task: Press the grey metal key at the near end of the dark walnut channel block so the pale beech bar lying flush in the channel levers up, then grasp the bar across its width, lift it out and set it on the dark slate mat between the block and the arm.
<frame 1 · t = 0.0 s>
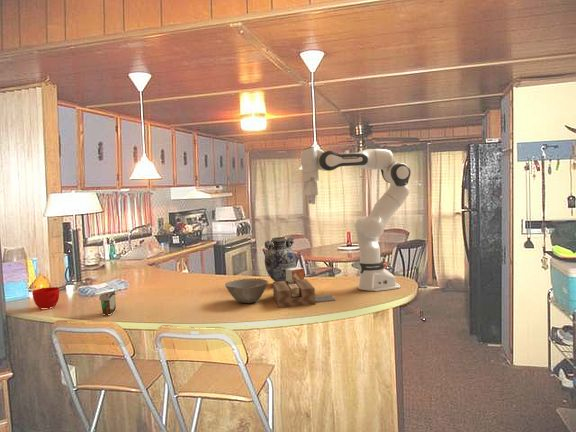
hand: (311, 203, 264), 48 cm above the table, tool pointing down, fingers open, 8 cm apart
eject lever: (293, 289, 252), point 6 cm above the table, hinge at 0.0°, touching beech bar
ceramic bowl: (247, 302, 256), on the table
beech bar: (294, 293, 249), point 4 cm above the table, touching eject lever
small box: (295, 292, 272), on the table
slate mat: (323, 299, 252), on the table
food container: (107, 314, 247), on the table
walnut channel block: (293, 300, 253), on the table
ceramic cup: (49, 308, 266), on the table
decorative vase: (281, 284, 294), on the table
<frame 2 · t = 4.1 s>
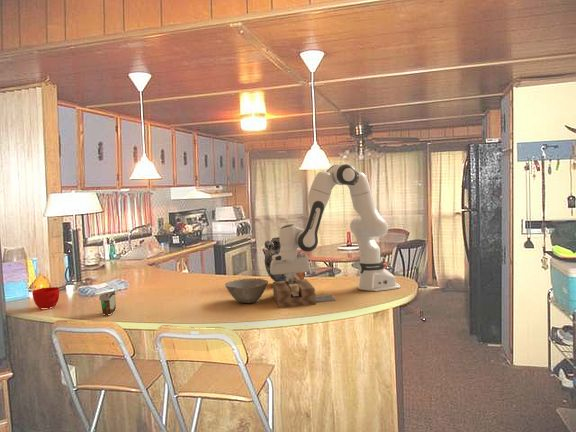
hand: (290, 281, 260), 8 cm above the table, tool pointing down, fingers closed, pressing on eject lever
eject lever: (292, 288, 253), point 6 cm above the table, hinge at 5.7°, touching beech bar, gripper
beech bar: (293, 292, 250), point 5 cm above the table, tilted 6°, touching eject lever
everything else where it was.
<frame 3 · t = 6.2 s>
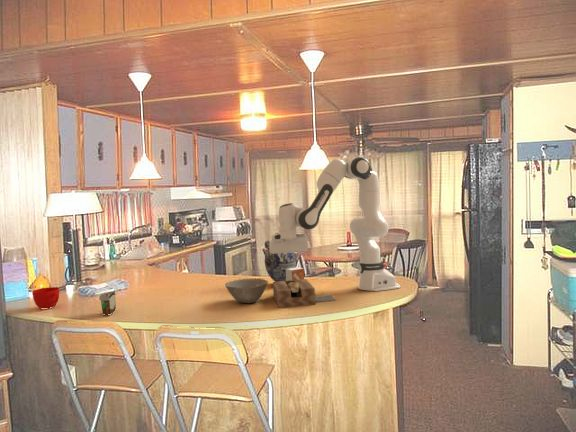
hand: (289, 261, 259), 19 cm above the table, tool pointing down, fingers open, 7 cm apart
eject lever: (292, 287, 253), point 6 cm above the table, hinge at 15.0°, touching beech bar
beech bar: (293, 290, 250), point 6 cm above the table, tilted 15°, touching eject lever
everything else where it was.
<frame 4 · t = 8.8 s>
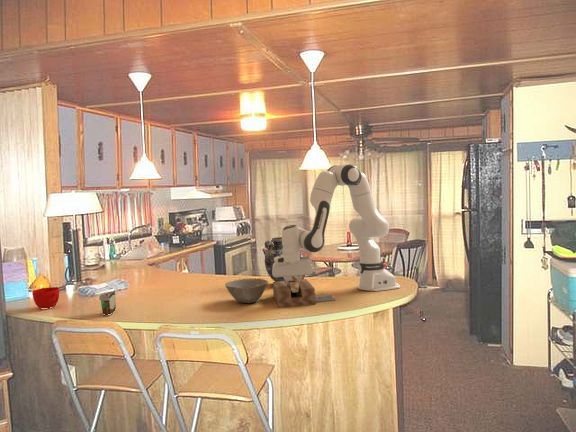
hand: (293, 284, 251), 8 cm above the table, tool pointing down, fingers closed on beech bar, 4 cm apart
beech bar: (293, 290, 250), point 6 cm above the table, tilted 15°, touching eject lever, gripper
everything else where it was.
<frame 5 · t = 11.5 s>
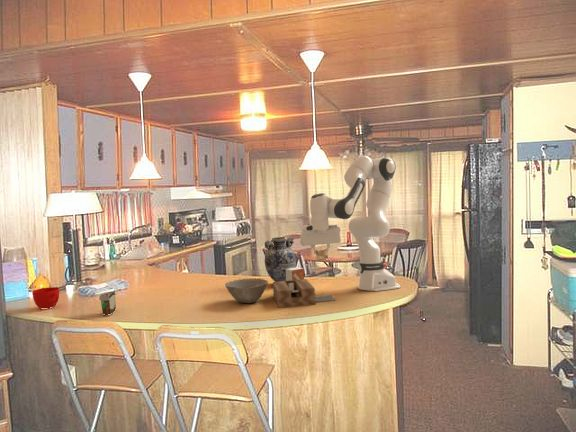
hand: (321, 253, 250), 24 cm above the table, tool pointing down, fingers closed on beech bar, 4 cm apart
eject lever: (292, 287, 253), point 6 cm above the table, hinge at 15.0°
beech bar: (322, 259, 249), point 21 cm above the table, tilted 15°, touching gripper
everything else where it was.
when the fingers open (7 cm above the table, at t = 14.3 s): beech bar drops 3 cm, resting on slate mat.
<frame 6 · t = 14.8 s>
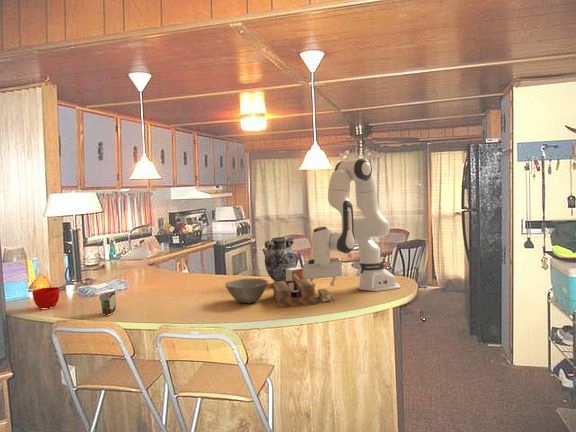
hand: (323, 286, 251), 7 cm above the table, tool pointing down, fingers open, 8 cm apart
beech bar: (324, 298, 250), point 1 cm above the table, touching slate mat
everything else where it was.
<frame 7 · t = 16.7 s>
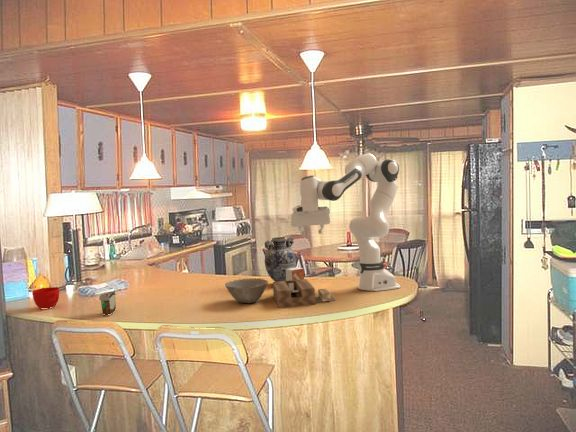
hand: (311, 234, 256), 33 cm above the table, tool pointing down, fingers open, 8 cm apart
nothing on the table moved.
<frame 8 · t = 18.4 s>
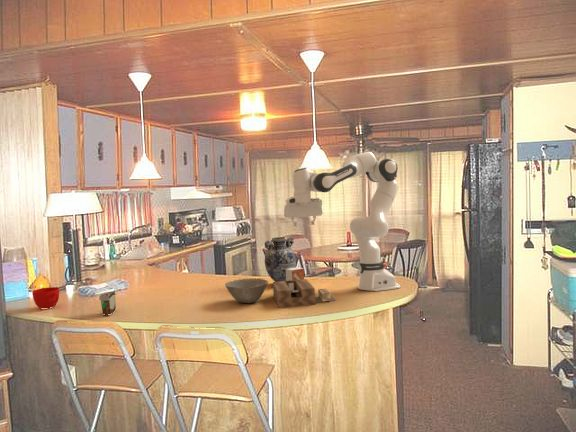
hand: (303, 225, 261), 37 cm above the table, tool pointing down, fingers open, 8 cm apart
nothing on the table moved.
at the end: beech bar inside the target area on the slate mat (1.6 cm from its centre), point 0.6 cm above the slate mat's base; the gripper is holding nothing; beech bar moved 15.6 cm from its start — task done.
